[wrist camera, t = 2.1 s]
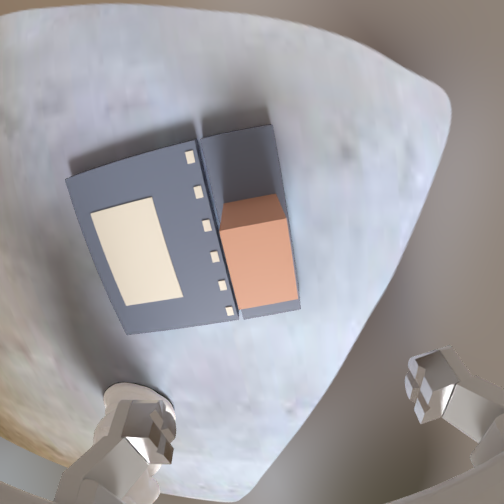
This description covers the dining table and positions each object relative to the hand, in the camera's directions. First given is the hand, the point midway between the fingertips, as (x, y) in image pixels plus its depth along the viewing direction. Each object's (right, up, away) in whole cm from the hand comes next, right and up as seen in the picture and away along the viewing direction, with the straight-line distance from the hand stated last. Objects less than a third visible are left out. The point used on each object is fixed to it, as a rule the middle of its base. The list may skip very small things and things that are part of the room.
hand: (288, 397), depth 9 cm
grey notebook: (-8, +5, +14) cm, 17 cm away
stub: (-1, +6, +14) cm, 15 cm away
